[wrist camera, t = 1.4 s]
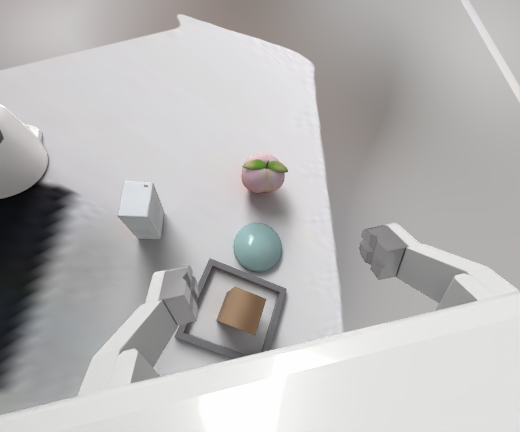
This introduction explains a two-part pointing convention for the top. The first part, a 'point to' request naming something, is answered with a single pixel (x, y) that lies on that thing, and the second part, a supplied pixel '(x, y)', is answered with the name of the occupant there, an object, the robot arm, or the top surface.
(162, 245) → the top surface
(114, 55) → the top surface
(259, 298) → the walnut block
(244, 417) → the robot arm
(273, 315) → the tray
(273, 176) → the decorative fruit
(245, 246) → the teal round disc
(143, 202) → the skincare box
